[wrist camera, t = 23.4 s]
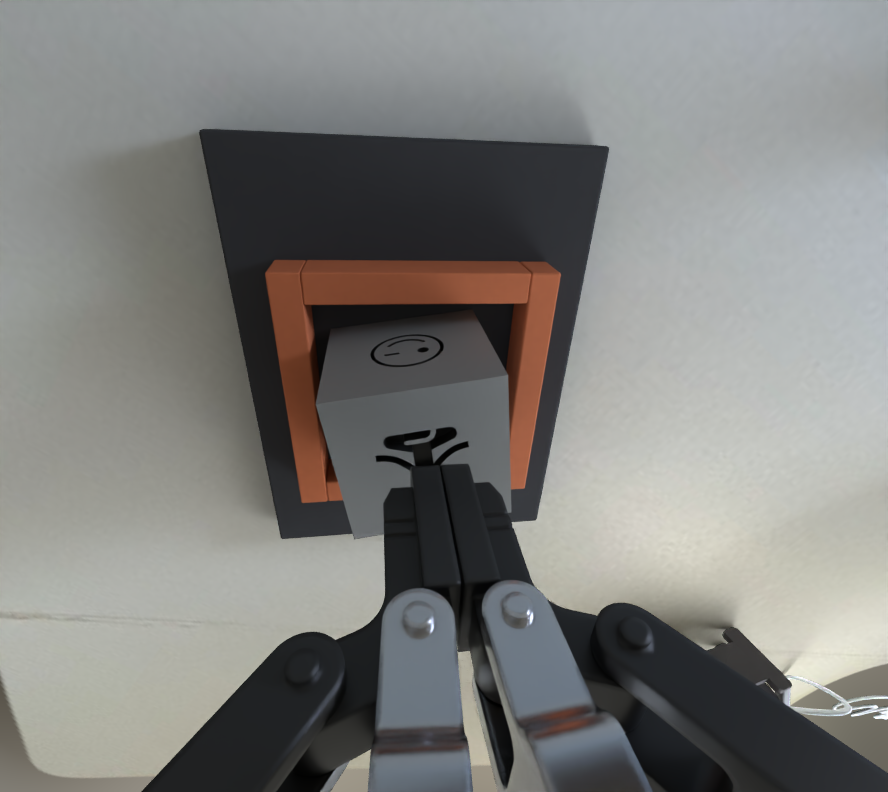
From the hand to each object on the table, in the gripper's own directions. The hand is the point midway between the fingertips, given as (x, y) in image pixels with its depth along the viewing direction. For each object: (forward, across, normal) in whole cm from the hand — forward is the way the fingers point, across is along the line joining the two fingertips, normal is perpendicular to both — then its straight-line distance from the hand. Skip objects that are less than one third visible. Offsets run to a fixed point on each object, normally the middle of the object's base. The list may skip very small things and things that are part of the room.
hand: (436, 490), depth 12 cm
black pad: (+7, 0, 0) cm, 7 cm away
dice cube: (+6, 0, 0) cm, 6 cm away
